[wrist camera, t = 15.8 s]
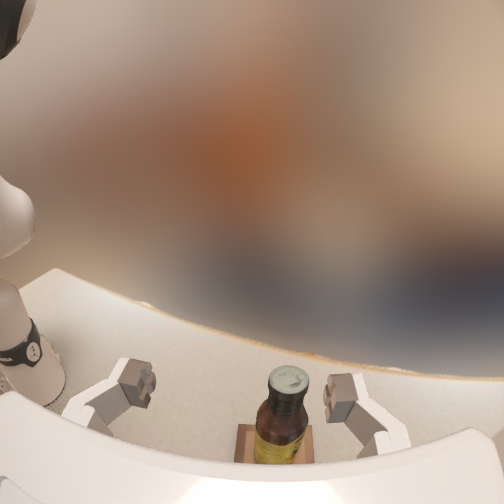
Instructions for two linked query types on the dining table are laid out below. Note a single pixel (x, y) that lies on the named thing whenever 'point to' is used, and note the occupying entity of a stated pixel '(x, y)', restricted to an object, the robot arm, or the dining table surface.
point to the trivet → (247, 442)
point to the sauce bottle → (282, 417)
